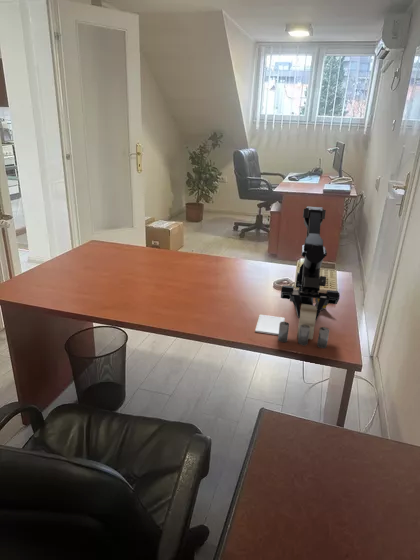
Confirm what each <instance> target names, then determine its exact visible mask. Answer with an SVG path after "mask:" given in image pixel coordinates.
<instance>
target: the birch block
mask: <svg viewBox="0 0 420 560" xmlns="http://www.w3.org/2000/svg"><path fill="white" fill-rule="evenodd" d="M316 313H317V306H315V304H313V305H310V304H303V303H300V319H299V318H298V327H297V333H296V337H297V338H299V332H300V326H301V325H303V324H305V325H308V326H310V330H309V337H308V340H313V338H314V331H315V325H316V321H317V320H316ZM315 320H316V321H315Z"/></svg>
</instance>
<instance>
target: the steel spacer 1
mask: <svg viewBox="0 0 420 560" xmlns="http://www.w3.org/2000/svg"><path fill="white" fill-rule="evenodd" d="M289 329H290V323H289V322H287V321H284V322H280V326H279V335H277V336H278V337H277V341H279V342H280V343H287V342H288V338H289V337H288V336H289Z"/></svg>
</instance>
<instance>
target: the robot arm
mask: <svg viewBox="0 0 420 560" xmlns="http://www.w3.org/2000/svg"><path fill="white" fill-rule="evenodd" d="M302 218H303V224H304V226H305V228H306V236H305V238H304V244H302V246H301V257H303V259H304V260H303V263H302V264H301V265H300V267H299V269H298V272H297V274H296V278H295V288H296V289H294V286H293V285H282V286H281V288H280V289H281V291H280V298H281V299H285V300H289V302H291V303H293V306H294V309H295V311H296V315H297V318H298V320H299V319H300V310H301V304H306V305H314V299H315V298H319V302H318V306H317V313H316V320H315V322H316V321H318V320H317V319H318V318H319V315H320V312H321V311H322V310H321V309H322V307H323V306H324V305H325V306H326V305H327V304H328V305H337V304H338V303H339V300H340V297H341V296H340V292H339V291H338V290H330V289H329V290H328V289H327V291H326V292H320V288H321V287H326V284H327V276H324V275H321V267H322V264H323V261H324V259H325V257H327V256H328V252H327V249H326V246H324V239H323V238H322V237H321V235H320V234H321V226H322V224H323V221H324V220H325V219H326V209H324V208H323V207H321V206H308V205H307V206H306V207H305V208H303V212H302ZM297 288H298V289H297ZM328 305H327V306H328ZM327 306H326V307H327Z"/></svg>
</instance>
